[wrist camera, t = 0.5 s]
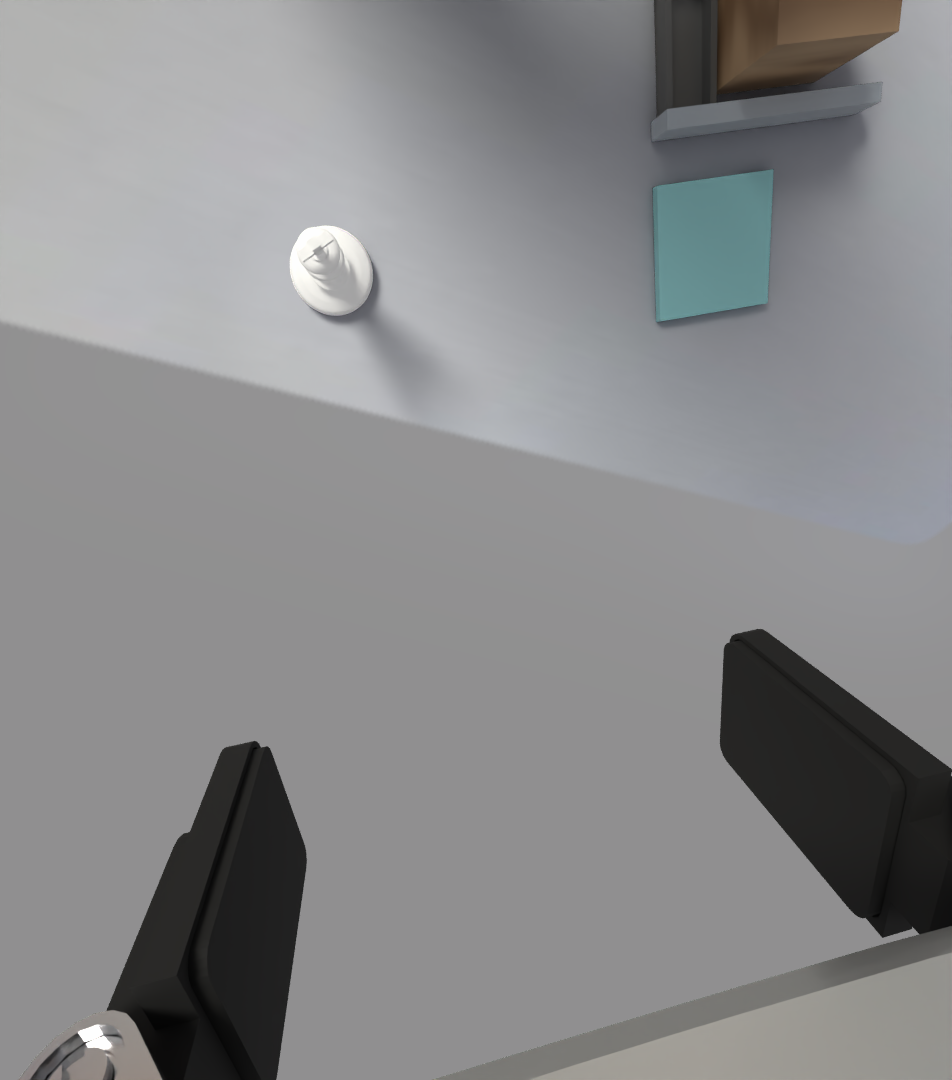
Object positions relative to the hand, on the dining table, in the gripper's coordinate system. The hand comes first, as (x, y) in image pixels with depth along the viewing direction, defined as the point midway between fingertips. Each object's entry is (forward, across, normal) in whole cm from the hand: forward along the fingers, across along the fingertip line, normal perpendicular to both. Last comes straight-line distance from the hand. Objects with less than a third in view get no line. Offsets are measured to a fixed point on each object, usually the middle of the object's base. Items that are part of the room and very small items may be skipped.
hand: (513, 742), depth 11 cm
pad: (+29, -22, -11) cm, 38 cm away
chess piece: (+29, +3, -12) cm, 32 cm away
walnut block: (+29, -25, -22) cm, 44 cm away
